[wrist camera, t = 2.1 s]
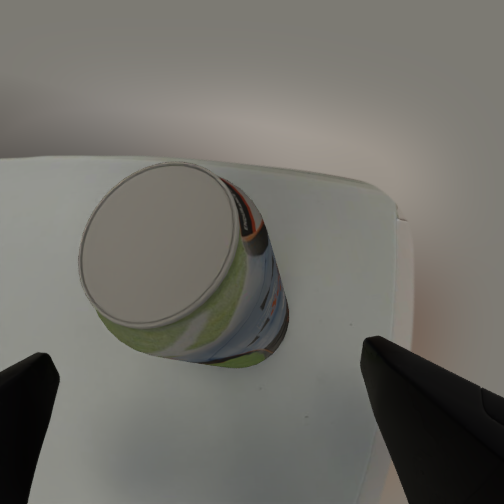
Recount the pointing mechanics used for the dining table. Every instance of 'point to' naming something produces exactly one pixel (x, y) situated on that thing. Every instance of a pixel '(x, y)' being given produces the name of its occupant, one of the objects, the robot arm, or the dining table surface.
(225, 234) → the beverage can
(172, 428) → the dining table surface
